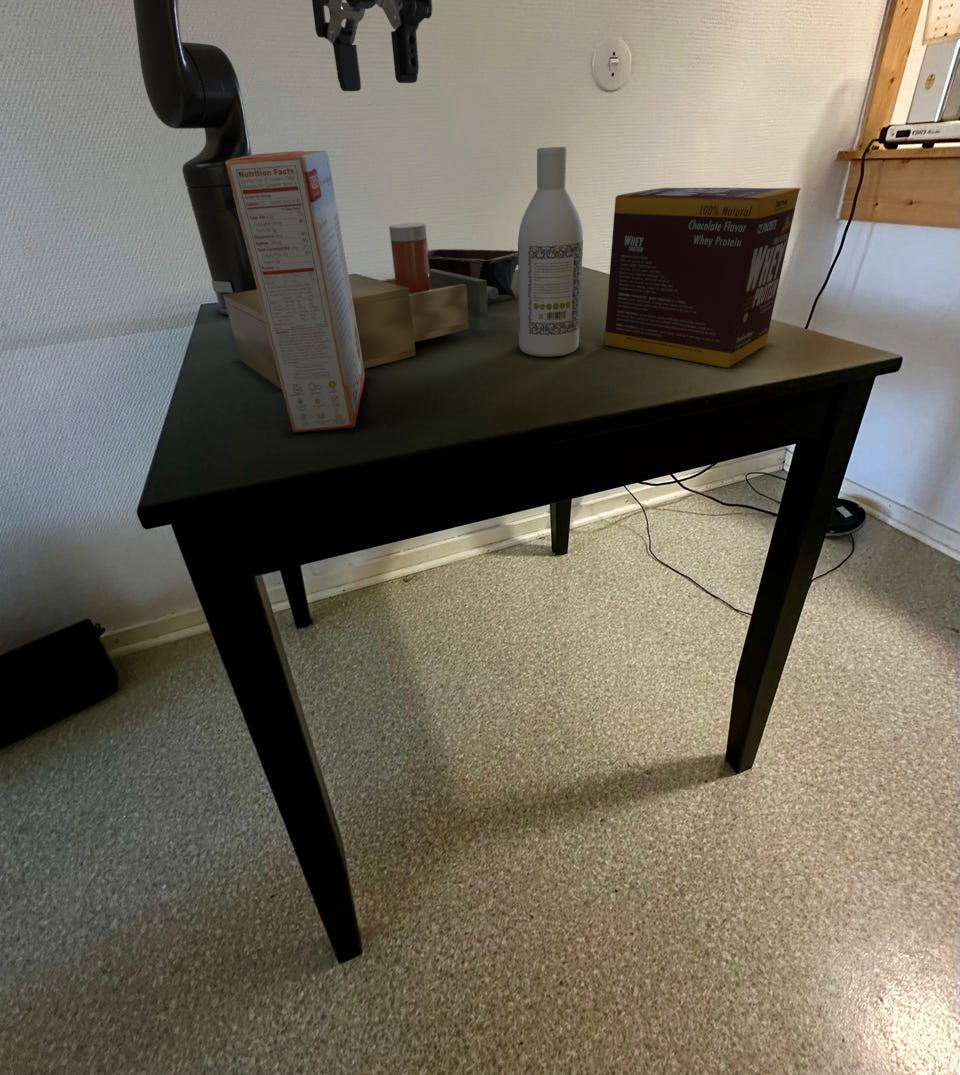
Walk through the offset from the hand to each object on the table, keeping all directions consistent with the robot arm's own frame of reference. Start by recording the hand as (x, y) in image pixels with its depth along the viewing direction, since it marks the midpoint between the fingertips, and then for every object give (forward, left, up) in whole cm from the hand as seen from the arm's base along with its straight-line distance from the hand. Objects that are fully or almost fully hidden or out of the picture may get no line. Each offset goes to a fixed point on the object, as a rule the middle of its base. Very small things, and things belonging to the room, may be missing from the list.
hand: (377, 87), depth 59 cm
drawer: (-4, +5, -25) cm, 26 cm away
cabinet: (-4, -9, -26) cm, 28 cm away
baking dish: (-16, +19, -26) cm, 36 cm away
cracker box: (+11, -15, -26) cm, 32 cm away
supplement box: (+22, +24, -26) cm, 42 cm away
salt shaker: (-4, +4, -24) cm, 24 cm away
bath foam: (+12, +12, -26) cm, 31 cm away
